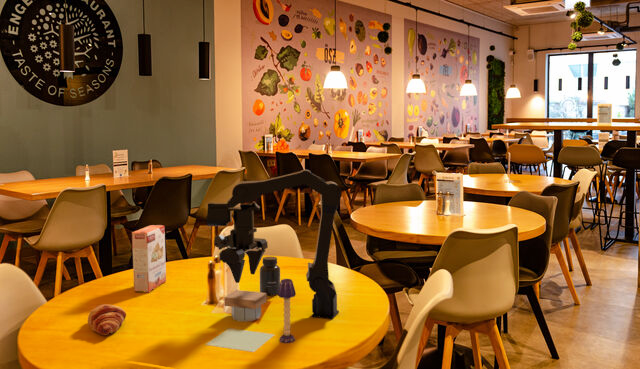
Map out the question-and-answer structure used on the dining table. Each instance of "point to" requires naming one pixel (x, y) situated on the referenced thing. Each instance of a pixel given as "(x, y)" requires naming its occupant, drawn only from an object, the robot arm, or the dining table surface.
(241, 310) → the bowl
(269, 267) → the supplement bottle
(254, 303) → the brown flat block
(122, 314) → the croissant
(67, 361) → the dining table surface
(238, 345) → the mat
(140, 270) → the cracker box
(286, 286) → the toy lamp
